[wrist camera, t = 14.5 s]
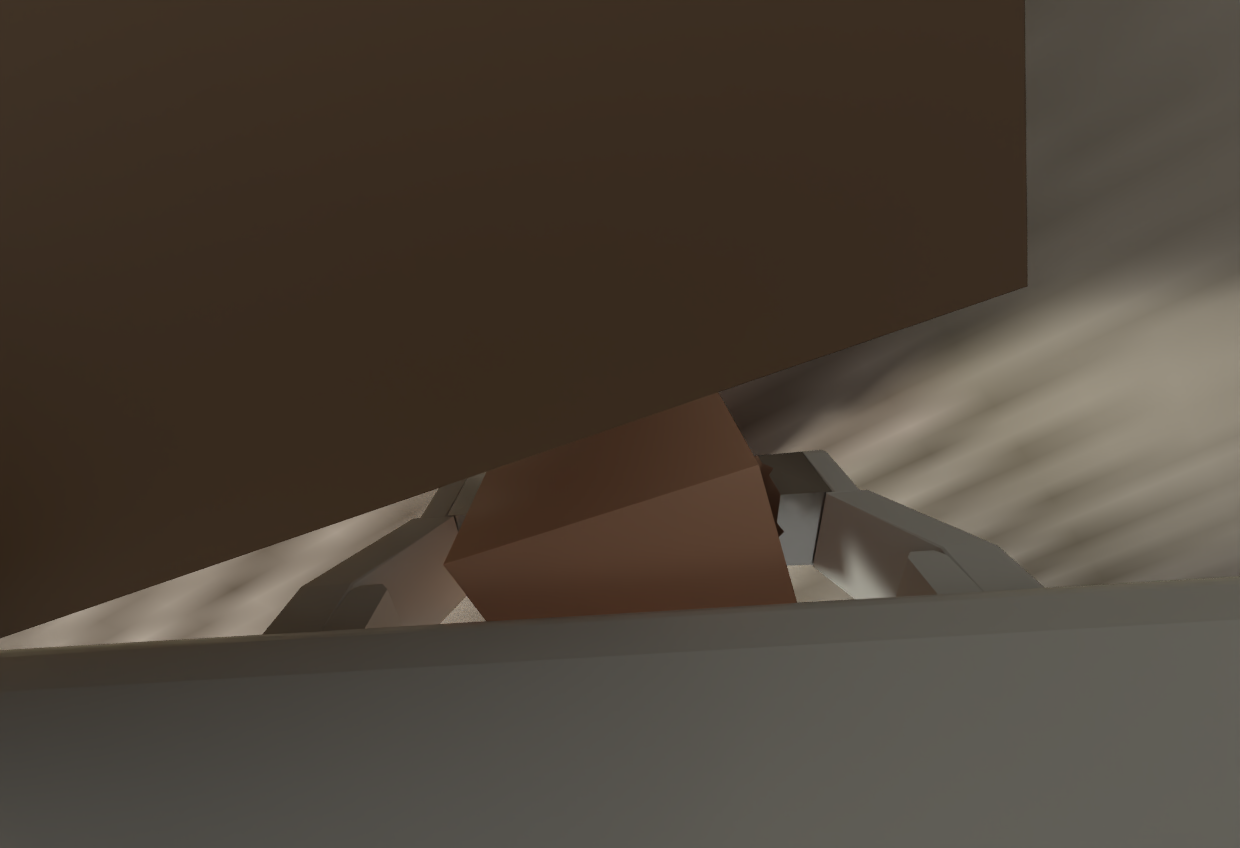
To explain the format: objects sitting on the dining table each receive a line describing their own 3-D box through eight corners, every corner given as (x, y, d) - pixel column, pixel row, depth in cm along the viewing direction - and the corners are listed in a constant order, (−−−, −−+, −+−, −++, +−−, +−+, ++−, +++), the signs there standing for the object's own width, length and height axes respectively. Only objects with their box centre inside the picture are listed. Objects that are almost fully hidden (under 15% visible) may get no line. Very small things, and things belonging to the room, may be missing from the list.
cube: (735, 486, 12) (817, 675, 7) (587, 532, 13) (572, 734, 8) (689, 340, 10) (758, 464, 5) (518, 403, 11) (442, 564, 6)
